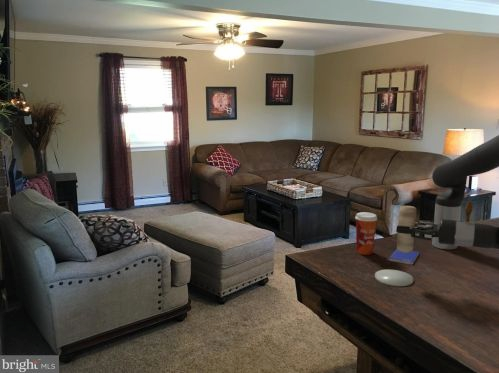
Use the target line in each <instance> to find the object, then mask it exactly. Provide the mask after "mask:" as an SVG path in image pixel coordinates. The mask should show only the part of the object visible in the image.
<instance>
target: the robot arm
mask: <svg viewBox="0 0 499 373" xmlns="http://www.w3.org/2000/svg"><path fill="white" fill-rule="evenodd" d="M497 168H499V134H498V135H496V136H495V137H493V138H491V139H489V140H488V141H486V142H484V143H481V144H479V145H477V146H476V147H474V148H472V149H471V150H469V151H467V152H465V153H463V154H461V155H459V156H458V157H456V158H454V159H452V160H449V161H447V162H443V163H440V164H438V165H437V166H436V167H435V168H434V170H433V171H432V174H431V175H432V176H431V178H432V181H433V184H434V185H435V186H437V187H439V188H443V189H445V188H447V189H446V190H445V191H444V192H442V193H440V194H439V195H437V196H436V197H435V207H434V218H433V220H426V219H425V220H419V219H415V227H410V228H409V227H408V226H399V225H398V224H397V225H396V229H395V230H396V233H397V234H398V233H404V234H409V235H411V237H414V239H421V240H425V241H432V242H431V245H432V246H433V247H435V248H438V249H442V250H456V249H457V248H458V246H459V247H472V248H473V247H474V248H480V249H481V248H482V249H483V248H484V249H497V250H499V226H494V225H491V224H486V223H475V222H470V221H469V222H465V220H464V221H463V220H461V215H462V214H461V212H462V205H463V204H462V203H463V200H464V198H465V195H466V188H467V183H468V177H473V176H476V175H481V174H485V173H488V172H490V171H492V170H495V169H497Z"/></svg>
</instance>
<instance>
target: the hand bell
mask: <svg viewBox="0 0 499 373" xmlns="http://www.w3.org/2000/svg"><path fill="white" fill-rule="evenodd" d="M472 212H473V203H472V201H471V200H468V201H467V203H466V205H465V209H464V213H465V218H464V219H465V220H464V221H465V222H470V220H471V214H472Z"/></svg>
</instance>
